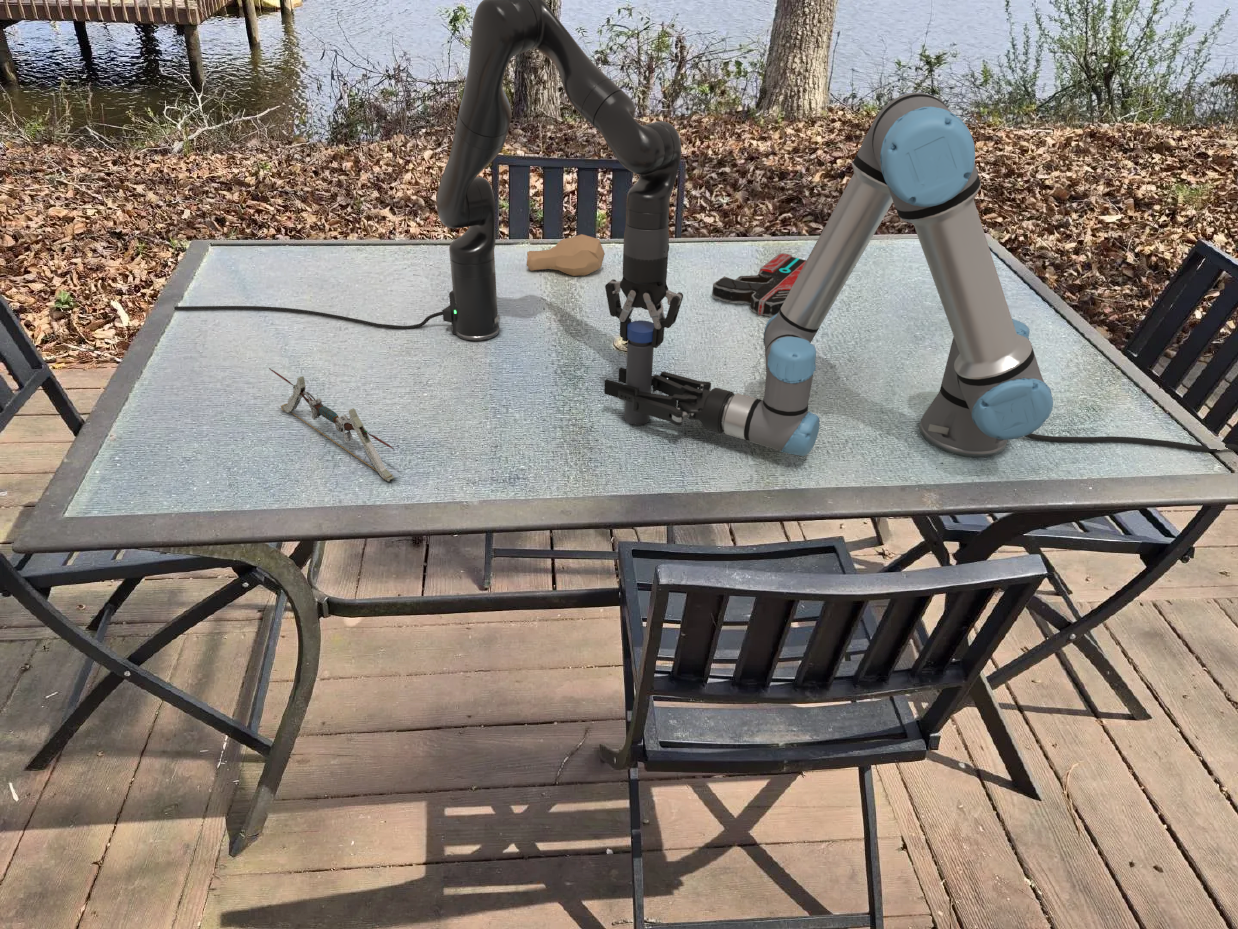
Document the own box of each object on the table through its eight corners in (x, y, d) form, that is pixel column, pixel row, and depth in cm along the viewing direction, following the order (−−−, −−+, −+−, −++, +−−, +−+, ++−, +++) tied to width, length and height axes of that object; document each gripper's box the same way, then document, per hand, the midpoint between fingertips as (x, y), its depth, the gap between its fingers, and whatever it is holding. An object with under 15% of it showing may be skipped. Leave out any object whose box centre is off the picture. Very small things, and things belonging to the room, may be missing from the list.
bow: (404, 484, 144) (397, 432, 138) (395, 489, 143) (388, 437, 137) (282, 401, 165) (271, 354, 160) (273, 405, 164) (262, 357, 158)
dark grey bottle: (640, 410, 166) (644, 325, 157) (654, 420, 163) (659, 334, 154) (619, 416, 164) (622, 330, 154) (633, 427, 161) (637, 340, 151)
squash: (606, 279, 220) (601, 247, 214) (527, 286, 222) (521, 255, 215) (606, 257, 228) (602, 226, 222) (531, 264, 229) (524, 233, 223)
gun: (708, 284, 207) (784, 305, 199) (760, 245, 229) (831, 262, 221) (706, 302, 209) (781, 323, 201) (758, 261, 231) (828, 278, 223)
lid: (637, 345, 152) (638, 334, 150) (621, 334, 155) (621, 323, 154) (662, 339, 154) (662, 328, 153) (645, 328, 158) (645, 318, 157)
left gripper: (597, 249, 145) (595, 343, 155) (678, 264, 141) (671, 359, 150) (615, 236, 151) (613, 327, 160) (694, 250, 146) (686, 342, 156)
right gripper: (706, 455, 149) (588, 419, 158) (745, 409, 162) (634, 378, 171) (710, 417, 144) (588, 382, 153) (750, 373, 158) (635, 343, 167)
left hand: (641, 342), depth 155 cm, fingers closed on lid, 5 cm apart
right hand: (612, 380), depth 162 cm, fingers closed on dark grey bottle, 5 cm apart
